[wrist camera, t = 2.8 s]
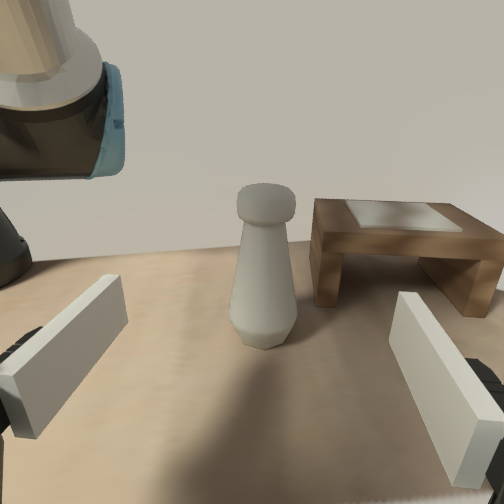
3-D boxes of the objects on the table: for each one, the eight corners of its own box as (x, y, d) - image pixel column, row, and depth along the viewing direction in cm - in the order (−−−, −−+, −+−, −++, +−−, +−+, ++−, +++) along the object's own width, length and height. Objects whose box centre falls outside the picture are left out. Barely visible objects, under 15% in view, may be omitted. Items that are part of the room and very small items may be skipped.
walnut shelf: (315, 306, 32) (324, 228, 29) (309, 256, 43) (314, 196, 40) (484, 317, 31) (514, 236, 27) (433, 263, 42) (450, 201, 38)
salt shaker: (263, 307, 32) (267, 175, 27) (309, 335, 28) (324, 187, 23) (215, 332, 28) (209, 184, 23) (260, 367, 24) (265, 200, 19)
